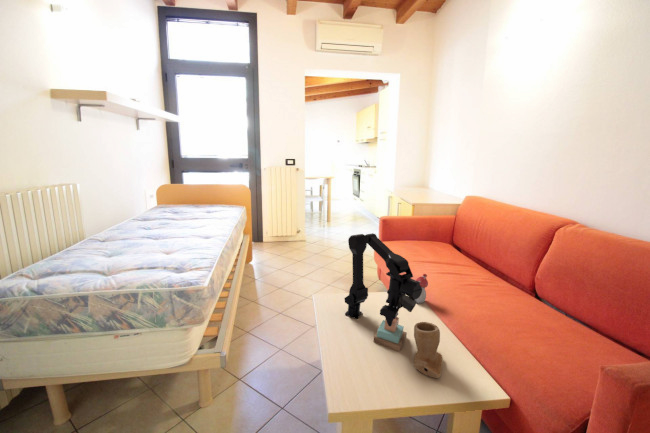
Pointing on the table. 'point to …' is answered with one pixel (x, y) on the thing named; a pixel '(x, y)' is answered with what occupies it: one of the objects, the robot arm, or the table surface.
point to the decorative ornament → (423, 284)
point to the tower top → (390, 333)
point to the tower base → (391, 344)
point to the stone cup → (427, 349)
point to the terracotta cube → (393, 326)
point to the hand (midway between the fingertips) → (391, 322)
